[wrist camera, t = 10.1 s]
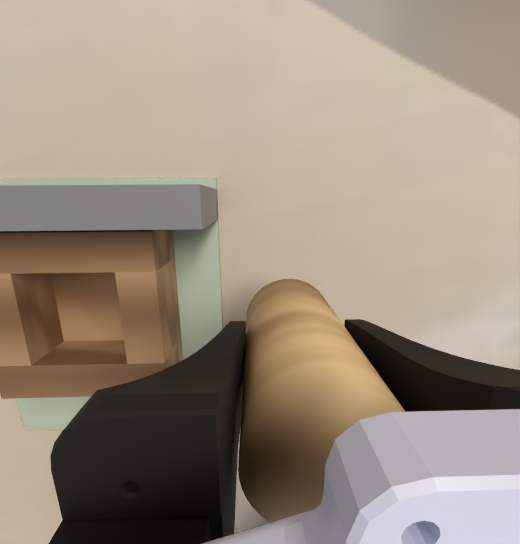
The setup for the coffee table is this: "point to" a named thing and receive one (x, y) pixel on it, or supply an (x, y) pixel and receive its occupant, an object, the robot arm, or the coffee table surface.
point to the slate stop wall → (107, 207)
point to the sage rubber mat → (190, 284)
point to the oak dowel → (299, 396)
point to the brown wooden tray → (85, 310)
